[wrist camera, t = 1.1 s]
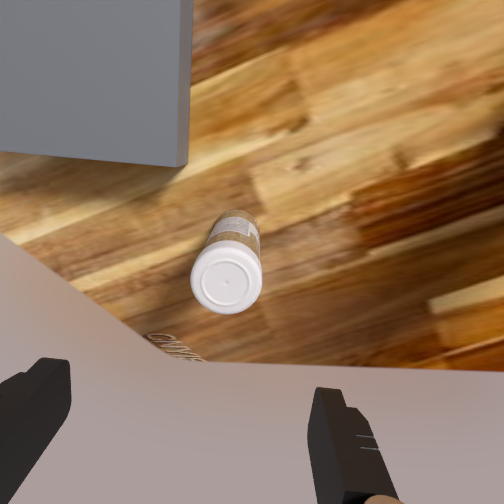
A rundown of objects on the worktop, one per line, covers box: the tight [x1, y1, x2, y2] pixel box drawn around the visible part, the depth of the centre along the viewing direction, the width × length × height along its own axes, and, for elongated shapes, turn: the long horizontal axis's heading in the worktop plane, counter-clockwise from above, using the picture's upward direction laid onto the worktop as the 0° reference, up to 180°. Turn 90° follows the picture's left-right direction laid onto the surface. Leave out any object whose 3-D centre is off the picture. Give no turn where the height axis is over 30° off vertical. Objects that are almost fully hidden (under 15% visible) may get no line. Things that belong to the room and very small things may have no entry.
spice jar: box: [190, 210, 262, 314], centre depth 28 cm, size 5×5×14 cm
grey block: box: [0, 0, 193, 167], centre depth 28 cm, size 14×14×5 cm
